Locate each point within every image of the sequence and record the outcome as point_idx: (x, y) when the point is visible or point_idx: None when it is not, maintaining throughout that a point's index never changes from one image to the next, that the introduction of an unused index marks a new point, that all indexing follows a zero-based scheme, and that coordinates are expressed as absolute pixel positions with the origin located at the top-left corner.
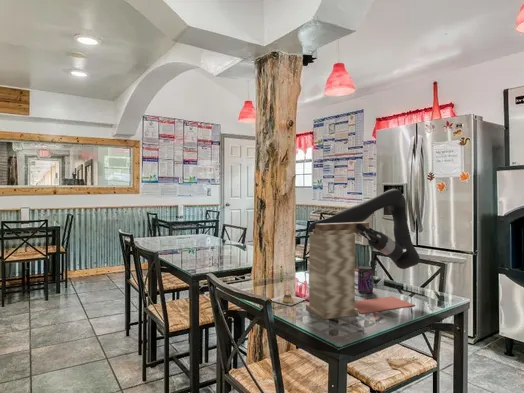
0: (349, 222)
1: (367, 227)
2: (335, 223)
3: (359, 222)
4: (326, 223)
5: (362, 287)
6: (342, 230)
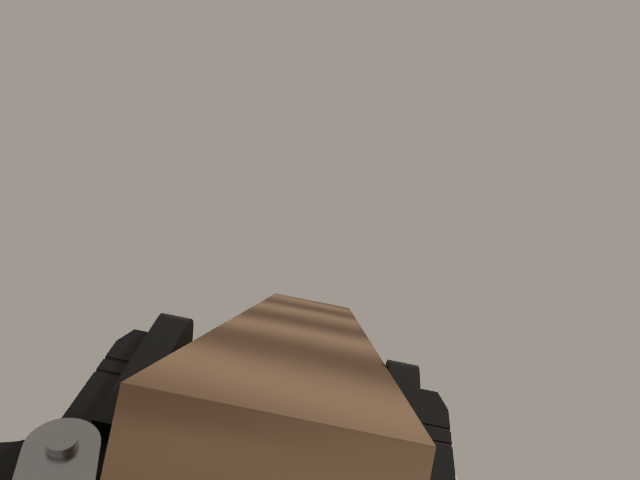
0: (379, 357)
1: (32, 431)
2: (309, 313)
3: (313, 374)
4: (340, 313)
5: None
6: None
